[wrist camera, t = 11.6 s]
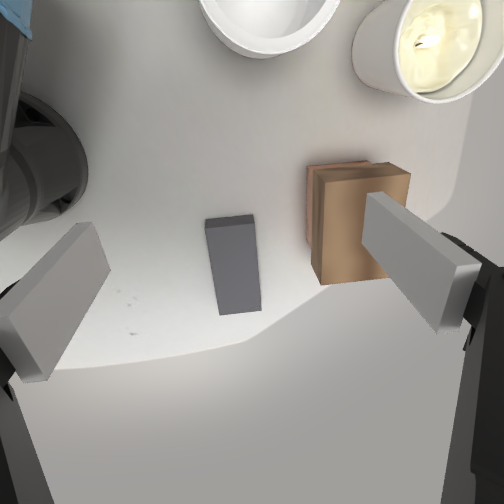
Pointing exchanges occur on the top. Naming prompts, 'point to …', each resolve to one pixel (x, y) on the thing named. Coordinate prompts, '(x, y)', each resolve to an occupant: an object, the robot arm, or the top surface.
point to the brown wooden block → (349, 219)
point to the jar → (266, 23)
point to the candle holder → (430, 47)
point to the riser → (234, 263)
